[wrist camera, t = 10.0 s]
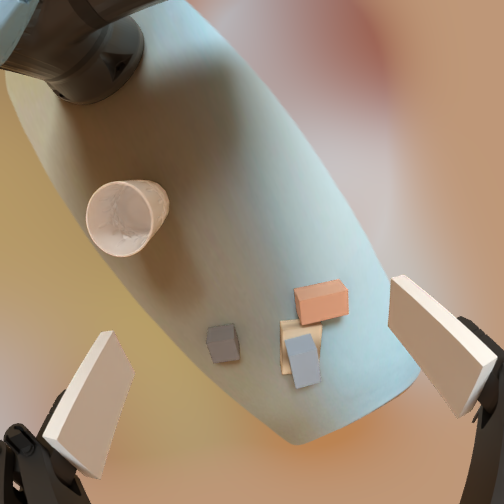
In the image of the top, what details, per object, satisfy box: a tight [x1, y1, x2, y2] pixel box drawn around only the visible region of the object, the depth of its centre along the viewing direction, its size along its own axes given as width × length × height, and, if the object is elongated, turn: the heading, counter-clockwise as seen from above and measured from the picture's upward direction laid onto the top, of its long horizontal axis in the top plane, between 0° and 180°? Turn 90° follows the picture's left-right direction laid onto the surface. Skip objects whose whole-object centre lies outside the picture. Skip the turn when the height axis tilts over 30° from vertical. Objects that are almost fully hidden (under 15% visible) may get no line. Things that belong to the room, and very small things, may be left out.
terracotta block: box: [294, 279, 349, 325], centre depth 39 cm, size 7×4×4 cm, turn 100°
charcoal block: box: [206, 324, 240, 363], centre depth 40 cm, size 4×4×4 cm
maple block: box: [280, 319, 322, 374], centre depth 42 cm, size 9×6×3 cm, turn 3°
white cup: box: [86, 180, 170, 257], centre depth 31 cm, size 8×8×10 cm
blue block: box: [284, 334, 321, 389], centre depth 39 cm, size 7×4×4 cm, turn 13°
